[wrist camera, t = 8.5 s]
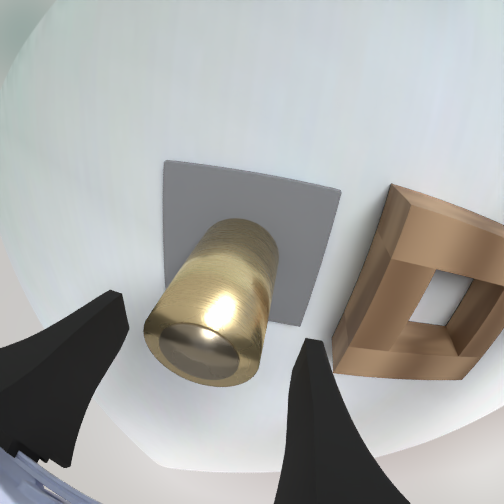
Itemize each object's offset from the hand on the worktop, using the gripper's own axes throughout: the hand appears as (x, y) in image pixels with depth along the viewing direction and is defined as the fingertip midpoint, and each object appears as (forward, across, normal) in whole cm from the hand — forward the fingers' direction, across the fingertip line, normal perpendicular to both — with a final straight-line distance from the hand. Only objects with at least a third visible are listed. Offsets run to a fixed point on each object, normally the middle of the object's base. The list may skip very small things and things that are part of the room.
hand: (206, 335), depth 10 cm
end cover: (+6, 0, 0) cm, 6 cm away
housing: (+7, -12, 0) cm, 14 cm away
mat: (+7, 0, 0) cm, 7 cm away
